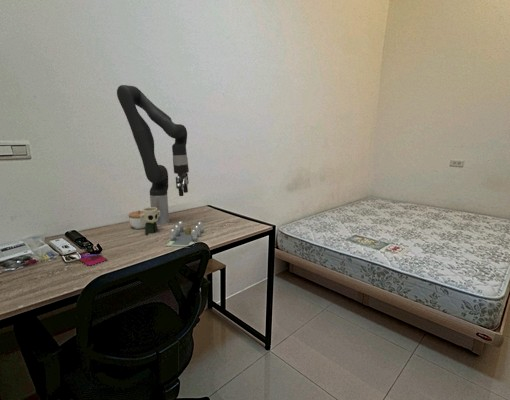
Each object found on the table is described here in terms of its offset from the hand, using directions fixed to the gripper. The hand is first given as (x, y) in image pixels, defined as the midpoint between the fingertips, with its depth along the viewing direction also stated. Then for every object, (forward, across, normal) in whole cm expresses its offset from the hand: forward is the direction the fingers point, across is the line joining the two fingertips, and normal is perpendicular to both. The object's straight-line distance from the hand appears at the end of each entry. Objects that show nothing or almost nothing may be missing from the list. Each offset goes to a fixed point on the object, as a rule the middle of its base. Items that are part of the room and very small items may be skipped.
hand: (183, 194), depth 156 cm
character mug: (+18, +10, -16) cm, 26 cm away
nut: (+18, +12, +4) cm, 22 cm away
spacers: (+19, +16, +4) cm, 25 cm away
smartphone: (+18, +42, -29) cm, 54 cm away
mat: (+19, +18, +4) cm, 26 cm away
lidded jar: (+18, +1, -25) cm, 31 cm away
